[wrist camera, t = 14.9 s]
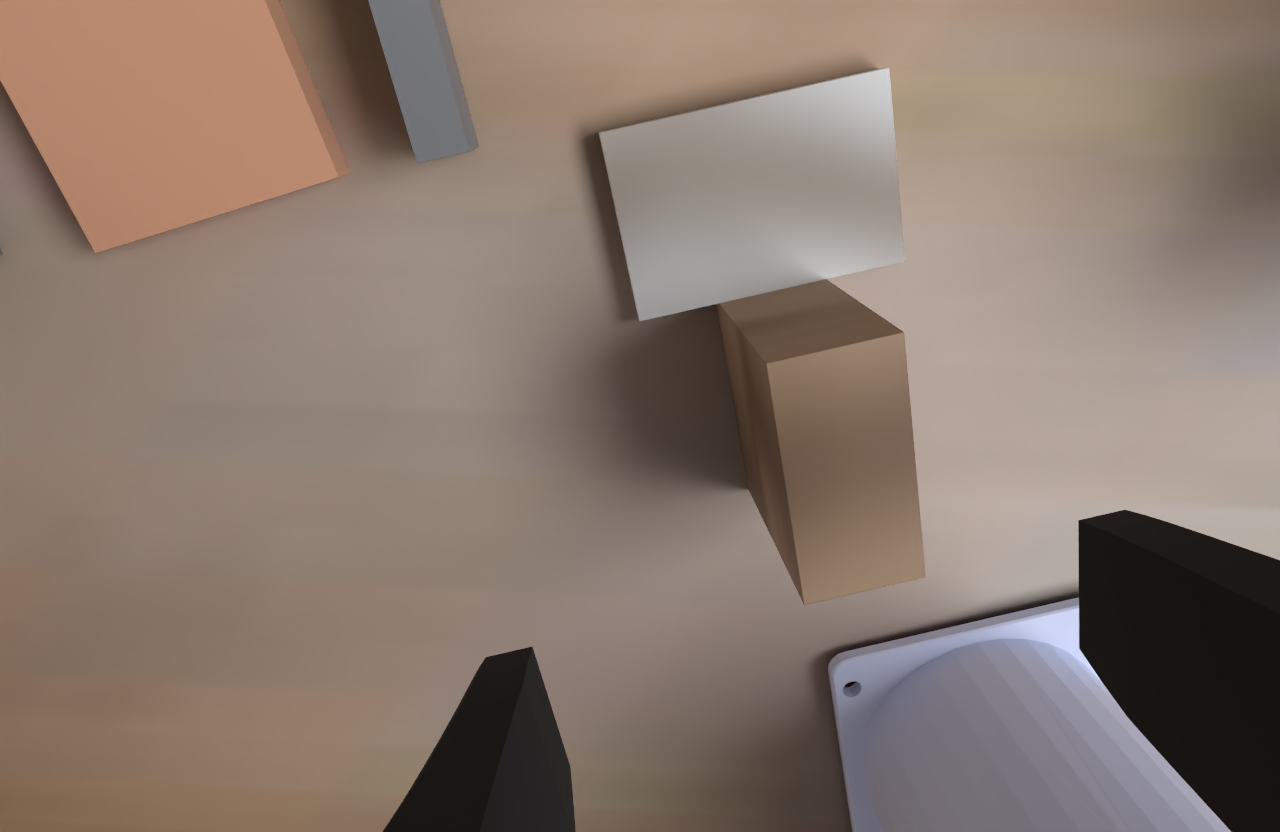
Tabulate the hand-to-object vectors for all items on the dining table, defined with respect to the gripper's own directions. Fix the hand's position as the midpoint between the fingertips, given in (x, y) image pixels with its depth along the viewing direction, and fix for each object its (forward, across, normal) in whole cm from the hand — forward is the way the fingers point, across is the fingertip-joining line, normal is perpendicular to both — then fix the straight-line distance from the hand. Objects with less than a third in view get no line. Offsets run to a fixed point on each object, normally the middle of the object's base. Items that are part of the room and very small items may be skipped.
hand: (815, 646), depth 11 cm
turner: (+10, -2, -2) cm, 10 cm away
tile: (+10, +9, -9) cm, 16 cm away
